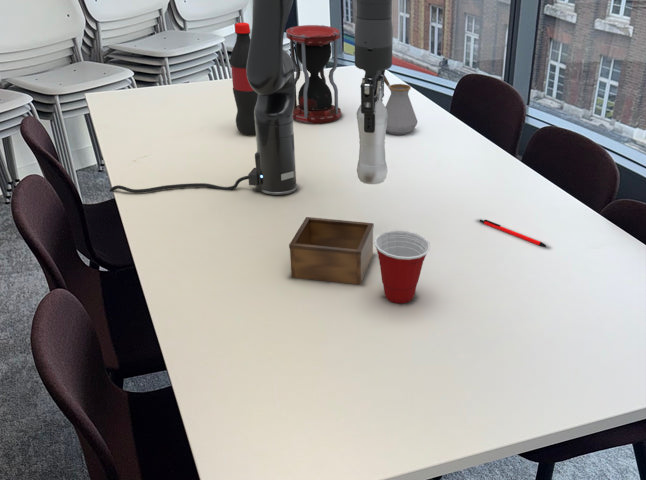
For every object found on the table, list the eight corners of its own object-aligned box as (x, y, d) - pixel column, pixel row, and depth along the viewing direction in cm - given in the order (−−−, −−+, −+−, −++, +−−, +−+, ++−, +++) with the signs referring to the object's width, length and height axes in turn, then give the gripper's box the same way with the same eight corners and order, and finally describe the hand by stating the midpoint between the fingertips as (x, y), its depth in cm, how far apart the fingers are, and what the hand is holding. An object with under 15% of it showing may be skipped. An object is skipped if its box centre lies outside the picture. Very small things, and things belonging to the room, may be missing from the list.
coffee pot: (423, 134, 230) (426, 82, 221) (389, 139, 226) (391, 86, 217) (392, 113, 245) (393, 64, 236) (359, 118, 241) (359, 68, 232)
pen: (481, 221, 181) (481, 217, 181) (547, 247, 171) (548, 243, 170) (478, 222, 181) (479, 218, 180) (545, 248, 171) (546, 244, 170)
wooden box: (290, 277, 157) (288, 244, 152) (307, 248, 168) (306, 216, 163) (361, 284, 155) (361, 251, 151) (373, 254, 166) (373, 223, 161)
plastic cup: (409, 316, 146) (412, 260, 138) (362, 300, 150) (363, 244, 143) (437, 293, 153) (441, 238, 146) (391, 278, 158) (393, 224, 150)
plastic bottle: (383, 189, 165) (386, 93, 153) (353, 186, 166) (353, 91, 154) (389, 178, 170) (392, 85, 158) (360, 175, 171) (360, 82, 159)
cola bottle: (270, 130, 230) (262, 21, 212) (257, 138, 224) (248, 27, 205) (244, 126, 232) (235, 18, 214) (231, 134, 226) (220, 24, 207)
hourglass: (281, 119, 238) (276, 33, 222) (303, 105, 250) (300, 22, 235) (328, 126, 234) (327, 38, 218) (348, 112, 246) (348, 27, 230)
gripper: (362, 32, 156) (361, 115, 166) (347, 48, 145) (348, 136, 155) (398, 34, 155) (395, 117, 166) (386, 51, 144) (384, 139, 154)
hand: (372, 126), depth 160 cm, fingers closed on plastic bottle, 6 cm apart
